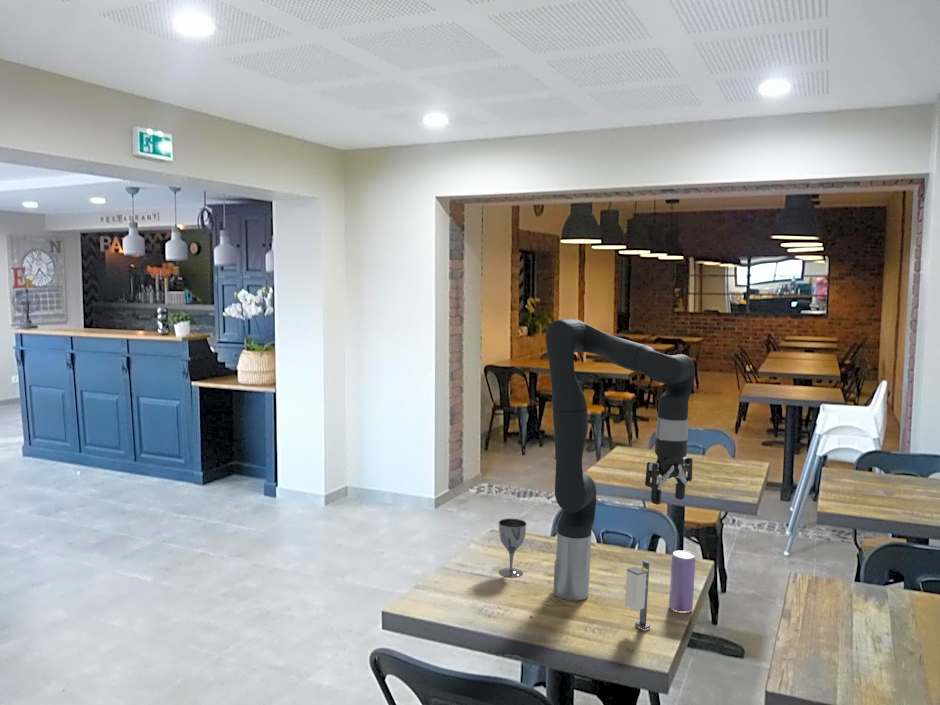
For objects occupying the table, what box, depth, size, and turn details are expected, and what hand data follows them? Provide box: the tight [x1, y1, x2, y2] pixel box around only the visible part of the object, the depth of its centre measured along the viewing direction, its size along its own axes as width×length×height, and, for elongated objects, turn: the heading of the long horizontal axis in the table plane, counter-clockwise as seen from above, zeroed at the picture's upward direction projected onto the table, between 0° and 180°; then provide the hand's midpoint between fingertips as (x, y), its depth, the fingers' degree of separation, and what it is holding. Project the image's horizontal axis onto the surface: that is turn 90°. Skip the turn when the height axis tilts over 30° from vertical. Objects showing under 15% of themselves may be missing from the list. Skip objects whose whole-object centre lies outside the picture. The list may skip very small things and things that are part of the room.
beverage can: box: [668, 550, 696, 611], centre depth 198 cm, size 6×6×15 cm
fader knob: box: [624, 566, 647, 612], centre depth 184 cm, size 3×4×9 cm
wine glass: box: [498, 517, 527, 579], centre depth 219 cm, size 8×8×15 cm
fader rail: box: [634, 560, 651, 630], centre depth 186 cm, size 2×3×17 cm, turn 34°
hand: (667, 501), depth 185 cm, fingers open, 8 cm apart
